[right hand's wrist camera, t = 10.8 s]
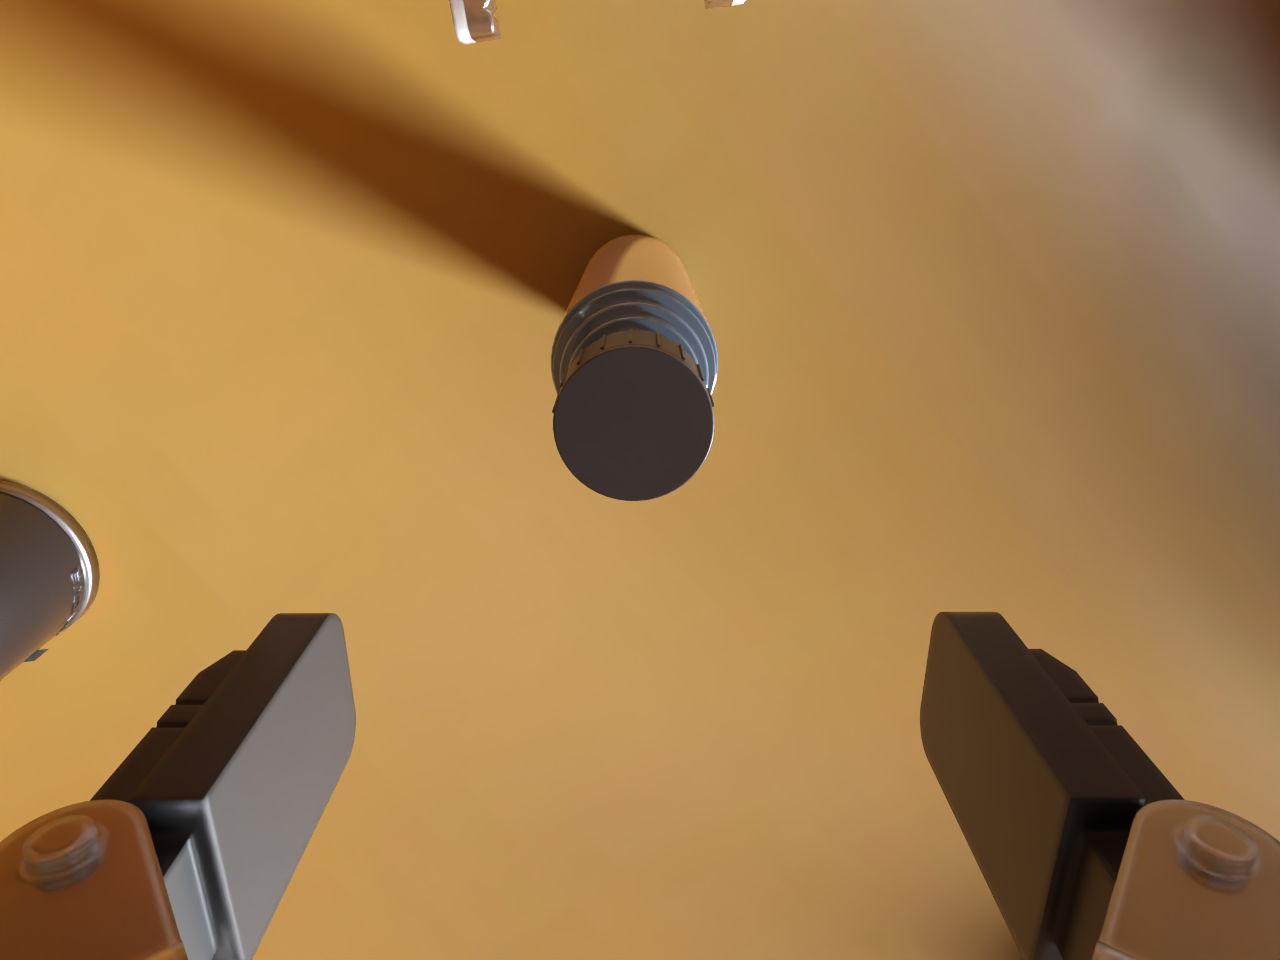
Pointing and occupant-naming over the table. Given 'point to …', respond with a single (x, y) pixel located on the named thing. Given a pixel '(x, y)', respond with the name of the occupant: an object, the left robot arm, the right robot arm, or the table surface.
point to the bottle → (635, 304)
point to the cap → (633, 416)
